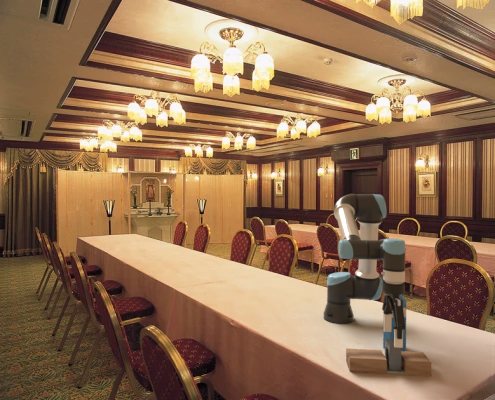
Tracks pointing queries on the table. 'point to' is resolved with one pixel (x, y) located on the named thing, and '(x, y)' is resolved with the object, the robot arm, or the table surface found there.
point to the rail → (378, 363)
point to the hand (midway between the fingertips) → (392, 339)
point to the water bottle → (391, 334)
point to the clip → (392, 355)
